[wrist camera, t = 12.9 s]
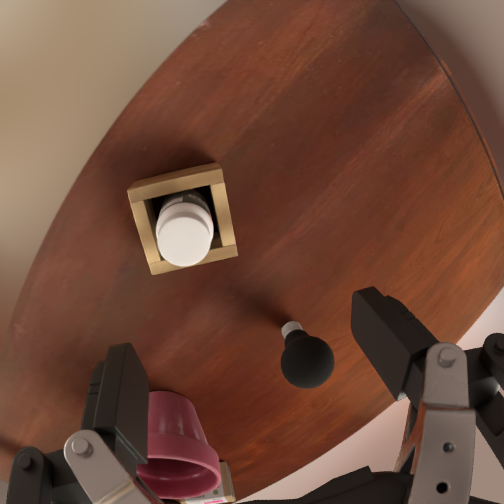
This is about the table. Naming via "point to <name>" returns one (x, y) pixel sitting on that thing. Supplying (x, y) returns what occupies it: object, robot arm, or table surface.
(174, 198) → the pill bottle
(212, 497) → the ink box
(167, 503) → the vase
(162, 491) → the flower pot
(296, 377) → the light bulb
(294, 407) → the table surface
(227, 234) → the bottle socket
